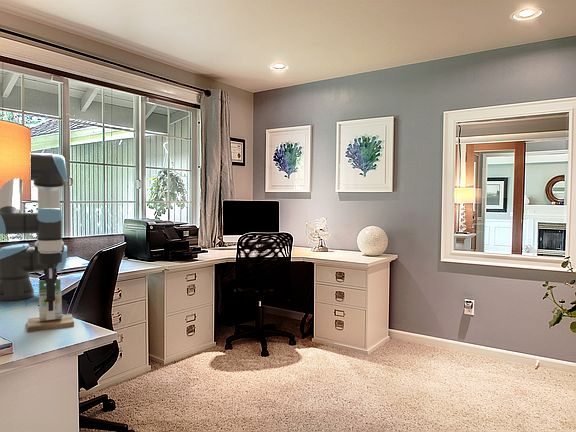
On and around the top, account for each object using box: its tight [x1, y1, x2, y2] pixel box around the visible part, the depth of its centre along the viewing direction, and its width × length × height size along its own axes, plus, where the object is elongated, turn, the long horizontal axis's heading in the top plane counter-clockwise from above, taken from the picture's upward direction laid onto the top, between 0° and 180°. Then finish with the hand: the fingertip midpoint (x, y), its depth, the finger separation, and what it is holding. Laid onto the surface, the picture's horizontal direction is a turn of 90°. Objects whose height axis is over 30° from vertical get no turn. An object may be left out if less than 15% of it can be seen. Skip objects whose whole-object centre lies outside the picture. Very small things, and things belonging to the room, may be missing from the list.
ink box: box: [38, 278, 63, 321], centre depth 153 cm, size 7×4×13 cm, turn 120°
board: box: [26, 313, 75, 333], centre depth 153 cm, size 12×14×2 cm
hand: (50, 317), depth 153 cm, fingers closed on ink box, 4 cm apart
